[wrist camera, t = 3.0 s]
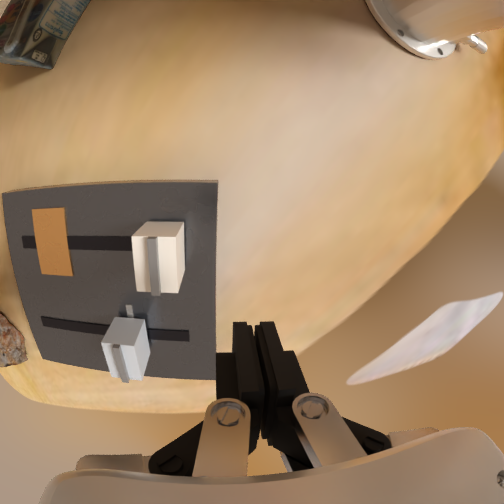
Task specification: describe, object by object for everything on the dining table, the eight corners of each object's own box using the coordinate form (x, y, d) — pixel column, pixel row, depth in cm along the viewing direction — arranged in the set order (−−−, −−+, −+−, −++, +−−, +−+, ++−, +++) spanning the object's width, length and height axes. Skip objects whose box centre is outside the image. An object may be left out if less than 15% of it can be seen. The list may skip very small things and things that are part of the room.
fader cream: (183, 221, 21) (174, 239, 17) (184, 270, 22) (177, 296, 18) (146, 221, 21) (129, 238, 17) (149, 268, 22) (134, 294, 18)
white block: (144, 319, 24) (132, 349, 20) (150, 352, 25) (141, 384, 21) (114, 316, 23) (99, 346, 19) (122, 349, 25) (110, 380, 21)
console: (218, 180, 23) (217, 182, 21) (216, 367, 29) (216, 381, 27) (13, 189, 20) (1, 193, 18) (49, 349, 27) (42, 359, 25)
